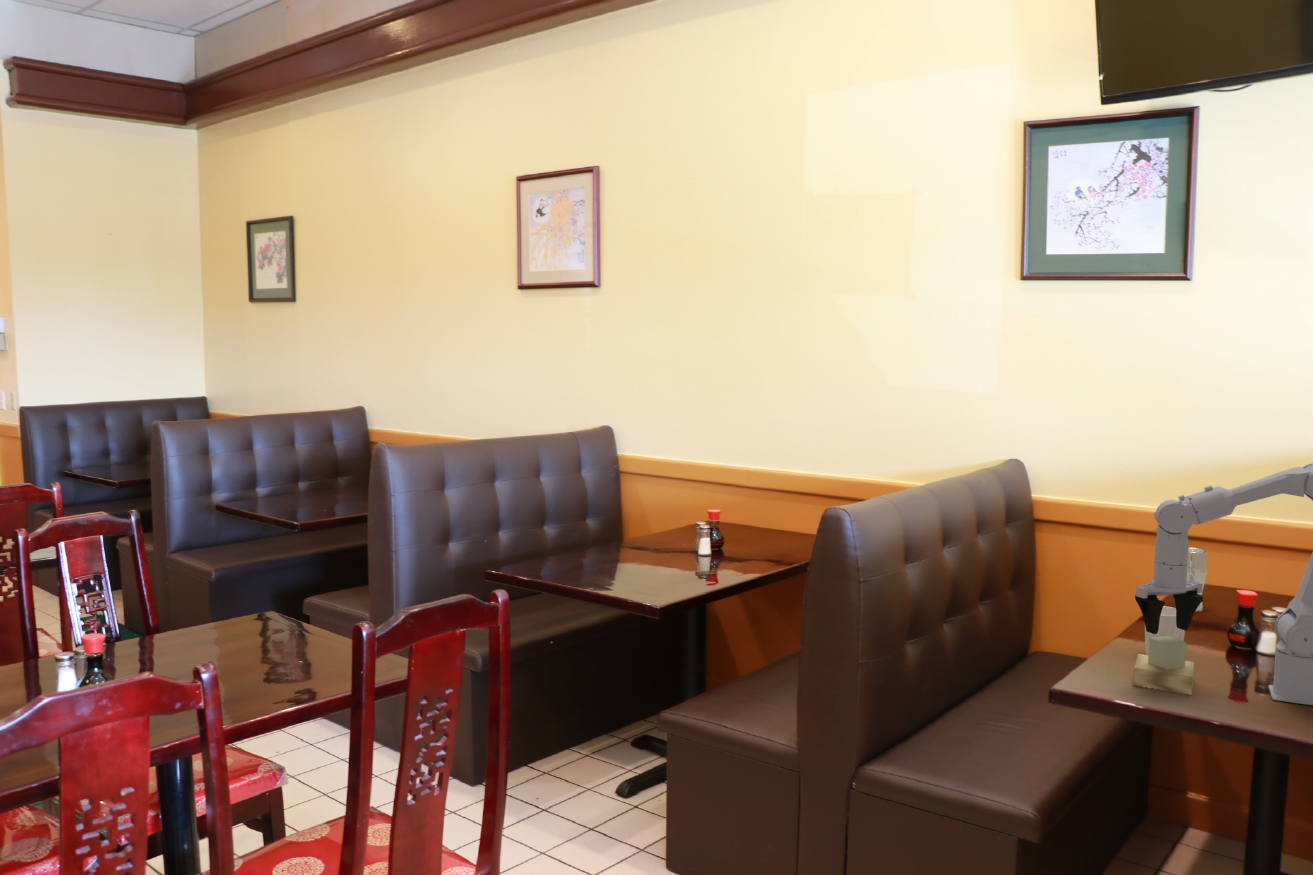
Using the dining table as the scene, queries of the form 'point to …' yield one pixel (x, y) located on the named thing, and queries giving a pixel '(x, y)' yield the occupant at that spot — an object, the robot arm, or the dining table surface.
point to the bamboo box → (1163, 676)
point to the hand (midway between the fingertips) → (1167, 630)
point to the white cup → (1166, 627)
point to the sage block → (1167, 652)
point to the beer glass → (1197, 568)
